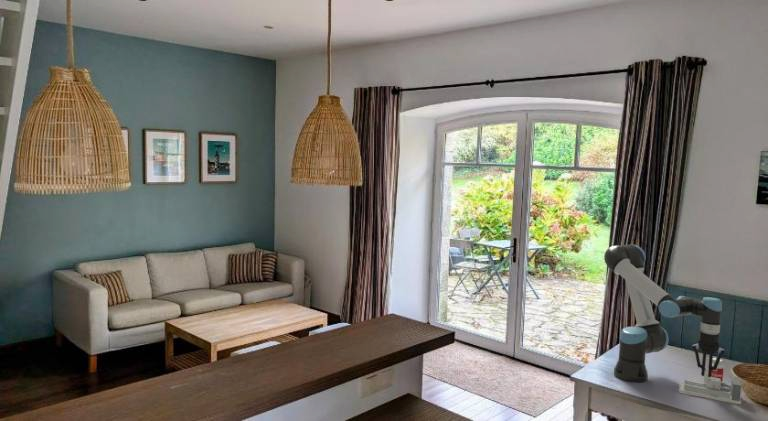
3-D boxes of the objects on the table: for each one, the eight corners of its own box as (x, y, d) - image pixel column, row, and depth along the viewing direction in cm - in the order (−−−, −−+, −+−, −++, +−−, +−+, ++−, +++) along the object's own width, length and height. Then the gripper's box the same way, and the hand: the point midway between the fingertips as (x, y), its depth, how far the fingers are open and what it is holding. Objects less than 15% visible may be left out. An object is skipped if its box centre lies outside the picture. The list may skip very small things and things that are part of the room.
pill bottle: (708, 382, 272) (710, 360, 271) (706, 378, 278) (708, 356, 277) (723, 385, 269) (725, 362, 269) (721, 380, 275) (723, 358, 274)
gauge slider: (706, 394, 253) (708, 381, 253) (706, 389, 260) (707, 376, 259) (724, 397, 250) (725, 384, 250) (723, 392, 257) (724, 379, 256)
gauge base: (678, 392, 259) (680, 374, 258) (679, 385, 267) (680, 368, 267) (740, 404, 247) (742, 386, 247) (739, 396, 256) (740, 378, 255)
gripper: (693, 331, 256) (689, 383, 258) (727, 337, 249) (722, 389, 251) (693, 327, 262) (689, 377, 264) (726, 332, 256) (721, 383, 258)
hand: (705, 383), depth 258 cm, fingers closed
